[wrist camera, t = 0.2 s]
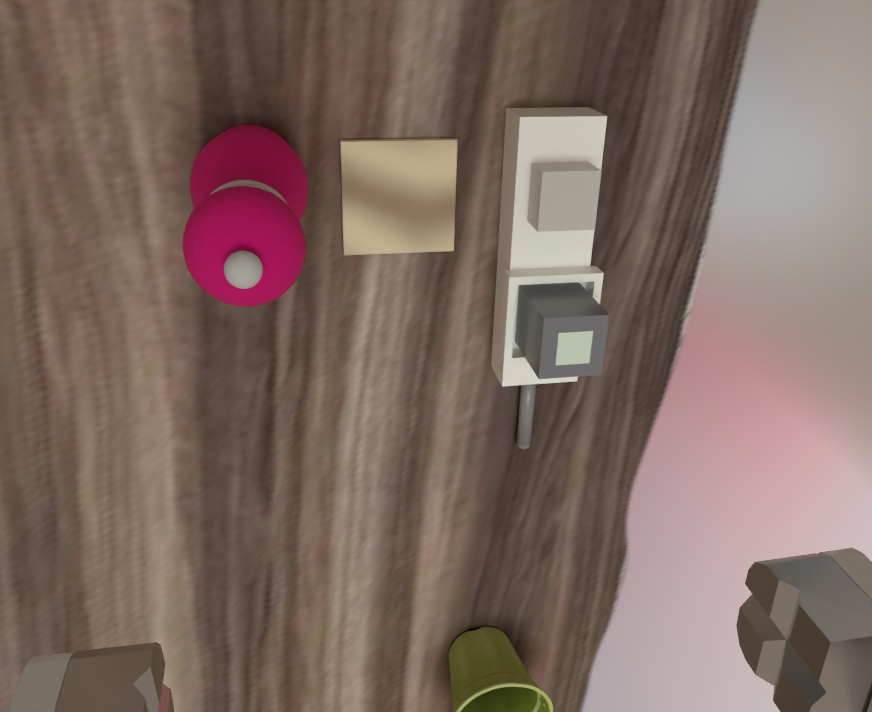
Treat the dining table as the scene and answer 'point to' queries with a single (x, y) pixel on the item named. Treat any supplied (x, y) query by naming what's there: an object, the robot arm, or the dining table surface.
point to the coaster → (398, 195)
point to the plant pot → (491, 675)
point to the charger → (561, 330)
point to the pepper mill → (246, 217)
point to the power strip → (524, 237)
